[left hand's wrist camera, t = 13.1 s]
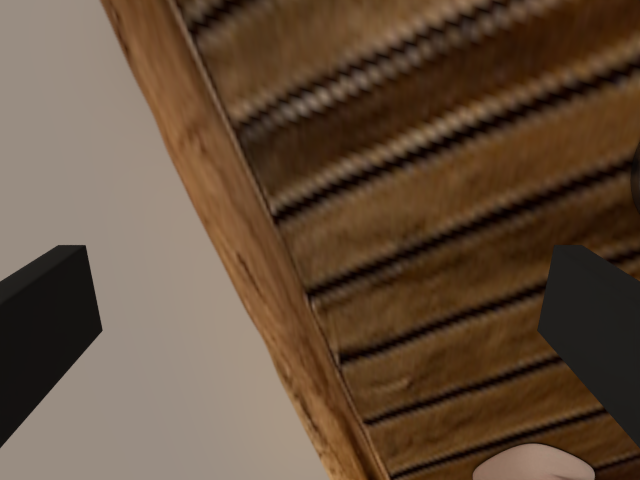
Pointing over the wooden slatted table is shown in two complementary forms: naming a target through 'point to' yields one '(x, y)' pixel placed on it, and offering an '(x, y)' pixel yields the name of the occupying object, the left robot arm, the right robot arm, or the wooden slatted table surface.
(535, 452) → the anatomical model
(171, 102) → the wooden slatted table surface
